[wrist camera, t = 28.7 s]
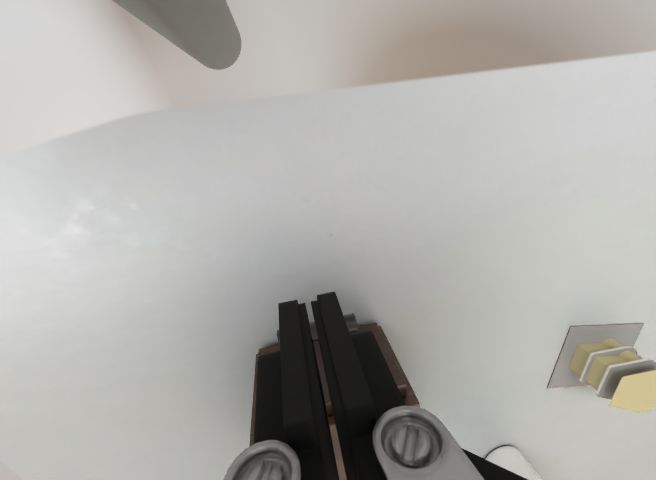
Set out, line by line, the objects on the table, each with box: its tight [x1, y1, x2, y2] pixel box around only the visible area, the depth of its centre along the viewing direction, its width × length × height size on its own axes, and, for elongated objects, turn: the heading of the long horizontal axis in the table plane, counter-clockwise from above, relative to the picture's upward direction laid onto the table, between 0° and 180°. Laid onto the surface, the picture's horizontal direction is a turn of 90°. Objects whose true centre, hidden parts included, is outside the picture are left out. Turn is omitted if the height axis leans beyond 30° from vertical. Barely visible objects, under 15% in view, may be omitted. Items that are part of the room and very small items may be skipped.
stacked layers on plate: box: [548, 323, 656, 412], centre depth 37 cm, size 10×9×6 cm
